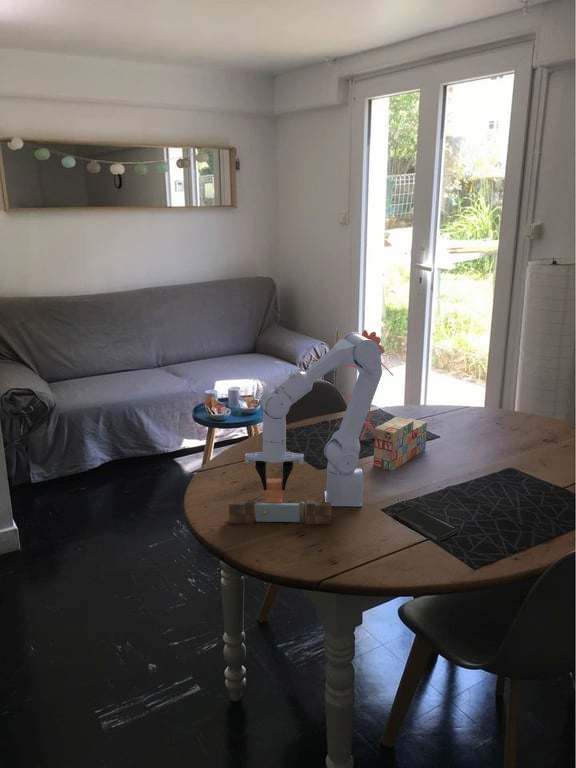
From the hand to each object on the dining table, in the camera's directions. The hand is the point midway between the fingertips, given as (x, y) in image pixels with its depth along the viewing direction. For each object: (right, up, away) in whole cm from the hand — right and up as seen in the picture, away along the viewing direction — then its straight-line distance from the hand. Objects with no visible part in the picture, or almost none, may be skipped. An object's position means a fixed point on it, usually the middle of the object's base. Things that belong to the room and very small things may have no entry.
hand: (274, 488), depth 160 cm
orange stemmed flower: (+30, +10, +54) cm, 63 cm away
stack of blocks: (+38, +4, +34) cm, 51 cm away
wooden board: (+1, -7, -5) cm, 9 cm away
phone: (+37, -8, -5) cm, 38 cm away
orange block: (0, -3, 0) cm, 3 cm away
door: (+2, -7, -5) cm, 9 cm away
